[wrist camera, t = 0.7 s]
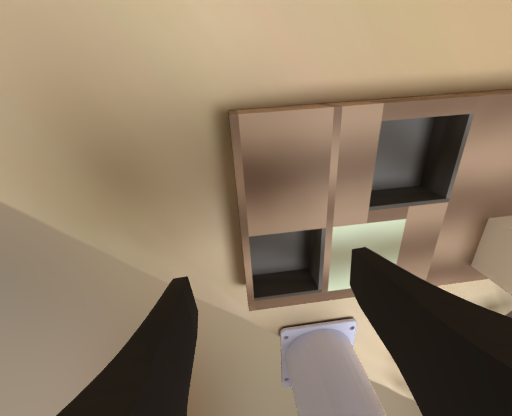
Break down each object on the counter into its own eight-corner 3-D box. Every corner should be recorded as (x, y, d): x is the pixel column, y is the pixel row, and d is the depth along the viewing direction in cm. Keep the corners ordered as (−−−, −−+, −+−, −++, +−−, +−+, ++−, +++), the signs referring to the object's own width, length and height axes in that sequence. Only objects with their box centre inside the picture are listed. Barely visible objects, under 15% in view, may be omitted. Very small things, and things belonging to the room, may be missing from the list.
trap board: (488, 254, 25) (520, 274, 22) (246, 285, 23) (249, 311, 21) (556, 85, 19) (612, 85, 16) (228, 110, 17) (229, 114, 14)
